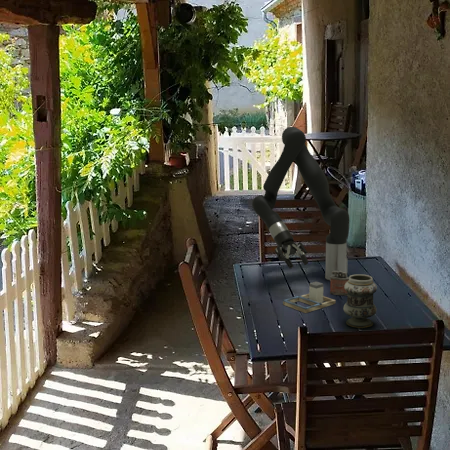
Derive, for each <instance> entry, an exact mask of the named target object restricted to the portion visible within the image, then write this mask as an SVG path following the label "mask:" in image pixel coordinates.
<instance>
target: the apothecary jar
mask: <svg viewBox="0 0 450 450" xmlns="http://www.w3.org/2000/svg"><path fill="white" fill-rule="evenodd" d="M348 277H349V280H348V282H346V283H345V286H344V288H345V290H346V291H347V295H346V297H347V300H346V302H345V304H344V305H343V307H342V308H343V312H344V313H345V314H346V315H347V316H349V317H351V318H348V319H346V325H348V326H350V327H352V328H357V329H366V328H370V327H372V326H373V325H374V322H373V320H371V319H370V318H371V317H373V316H374V315H375V314H376V313H377V310H378V309H377V307H376V304H374V293H376V292H377V290H378V286H377V284H376V283H375V282H374V280H373V277H372V276H371V275H368V274H363V273H362V274H352V275H351V274H350V275H349V276H348Z"/></svg>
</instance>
